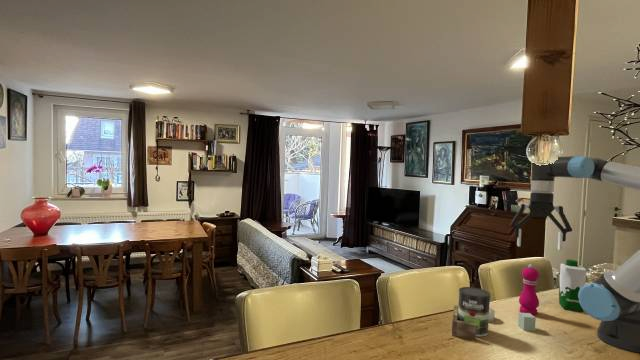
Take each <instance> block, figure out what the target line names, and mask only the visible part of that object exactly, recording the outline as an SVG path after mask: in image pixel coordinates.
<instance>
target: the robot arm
mask: <svg viewBox="0 0 640 360" xmlns="http://www.w3.org/2000/svg"><path fill="white" fill-rule="evenodd" d="M557 157H558V160H556V161H555V162H554V164H553V163H552V164H550V163H549V164H548V165H541V166H539V165H536V164H535V163H532V162H531V180H530V191H531V192H530V195H529V196H530V197H529V204H524V203H520V205H519V209H518V211H517V212H516V214H515V215H514V217H513V219H511V222H510V223H509V226H510V227H511V228H513V229H514V237H515V238H517V239H516V240H517V241H516V246H517V247H520V248H521V244H522V242H521V241H522V229H521V228H522V227H523V225H525V224H526V223H527V222H528V221H530V219H531V218H533V217H534V216H535V217H543V218H547V217H548V218H549V219H550V220H551V221H552V222H553V224H555V226H556V227H557V228H558V229H559V231H558V237H557V250H558V251H563V242H566V239H567V237H566V236H567V233H569V232H570V233H572V232H573V228H572V226H571V225H570V223H569V221H568V219H567V218H568V217H566V215H565V212H564V207H563V206H562V205H558V206H554V196H555V195H554V193H553V192H554V191H555V178H569V179H570V178H574V179H589V180H594V181H600V182H603V183H608V184H611V185H616V186H619V187H623V188H628V189H632V190H635V191H639V192H640V167H639V166H634V165H630V164H625V163H619V162H616V161H615V162H614V161H609V160H605V159H603V158H598V157H590V156H587V155H586V156H583V155H576V156H573V155H569V156H557ZM527 209H528V210H529V212H528V213H527V215H525V216H524V217H523V218H521V216H522V215H523V213H524V211H525V210H527ZM554 211H556V212H557V213H558V215H559V217H560V219H561V221H562V223H563V225H562V224H561V222H559V220H558V219H557V218H556V217H555V216H554V215H553V212H554ZM520 218H521V220H520V221H519V219H520ZM518 221H519V222H518ZM578 298H579V303H580V305H581V307H582V308H583V312H585V313H586V314H587V315H588V316H590V318H592V319H594V320H598V321H600V323H599V325H598V327H597V329H596V336H597V338H598V339H599V340H601V341H602V342H603V343H606V344H608V345H610V346H612V347H615V348H618V349H622V350H625V351H630V352H635V353H640V249H638V250H637V252H635V253H634V254H633V255H631V257H629V258H628V259H627V260H625V262H623V263H622V264H621V265H620V266H619V267H617V269H616V270H607V271H604V272H603V273H601V275H599V276H598V277H597V278H596V279H595V280H594V281H592V282H588V283H586V284H585V285H584V286H583V287H581V289H580V290H579V293H578Z"/></svg>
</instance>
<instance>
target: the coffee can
mask: <svg viewBox="0 0 640 360" xmlns="http://www.w3.org/2000/svg"><path fill="white" fill-rule="evenodd" d="M458 293H459V294H458V306H459V307H458V321H464V322H469V323H475V324H476V337H477V338H478V337H486V336H487V335H489V334H488V333H489V322H488V320H489V308H490V302H491V301H490V300H491V299H490V298H491V293H490V292H489V291H487V290H485V289H484V288H479V287H472V286H463V287H459V289H458Z"/></svg>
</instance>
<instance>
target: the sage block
mask: <svg viewBox="0 0 640 360" xmlns="http://www.w3.org/2000/svg"><path fill="white" fill-rule="evenodd" d="M517 319H518V322H517V327H518V328H520V329H521V330H522V329H523V330H522V331H524V332H525V331H526V332H535V331H536V319H537V318H536V317H535V315H534V316H533V315H531V314H530V313H521V312H518V318H517Z"/></svg>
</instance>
